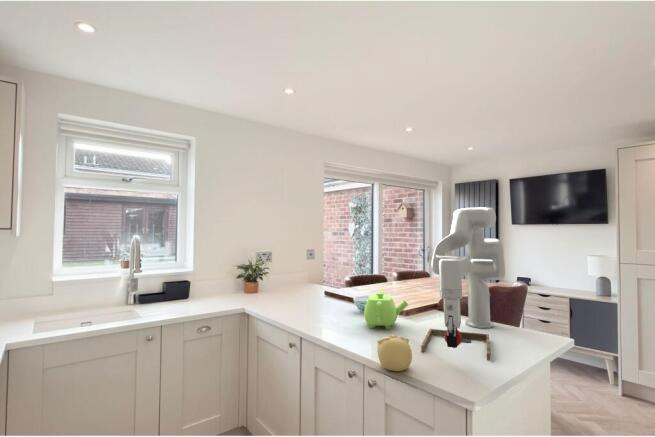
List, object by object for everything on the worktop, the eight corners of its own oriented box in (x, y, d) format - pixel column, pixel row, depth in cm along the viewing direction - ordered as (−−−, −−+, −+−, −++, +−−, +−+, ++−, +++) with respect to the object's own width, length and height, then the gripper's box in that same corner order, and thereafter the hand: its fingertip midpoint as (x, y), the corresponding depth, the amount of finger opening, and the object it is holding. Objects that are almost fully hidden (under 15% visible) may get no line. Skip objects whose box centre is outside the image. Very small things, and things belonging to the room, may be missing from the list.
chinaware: (349, 310, 202) (348, 297, 202) (371, 307, 208) (370, 294, 208) (362, 316, 188) (361, 302, 188) (385, 313, 194) (384, 299, 195)
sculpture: (406, 360, 126) (406, 330, 126) (416, 374, 114) (415, 341, 114) (375, 361, 126) (374, 331, 126) (381, 375, 114) (381, 342, 114)
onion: (442, 348, 123) (441, 325, 123) (448, 343, 127) (448, 322, 128) (458, 352, 119) (457, 328, 119) (464, 347, 124) (464, 324, 124)
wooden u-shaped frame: (429, 334, 155) (429, 328, 155) (489, 340, 145) (489, 334, 145) (421, 351, 134) (421, 345, 134) (490, 360, 124) (489, 353, 124)
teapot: (409, 333, 157) (408, 297, 158) (362, 331, 162) (361, 297, 162) (408, 318, 182) (407, 288, 182) (367, 317, 186) (366, 287, 187)
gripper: (460, 299, 114) (462, 354, 114) (463, 288, 130) (465, 337, 130) (437, 297, 117) (439, 351, 117) (442, 288, 133) (444, 335, 133)
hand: (452, 343), depth 123 cm, fingers closed on onion, 5 cm apart
